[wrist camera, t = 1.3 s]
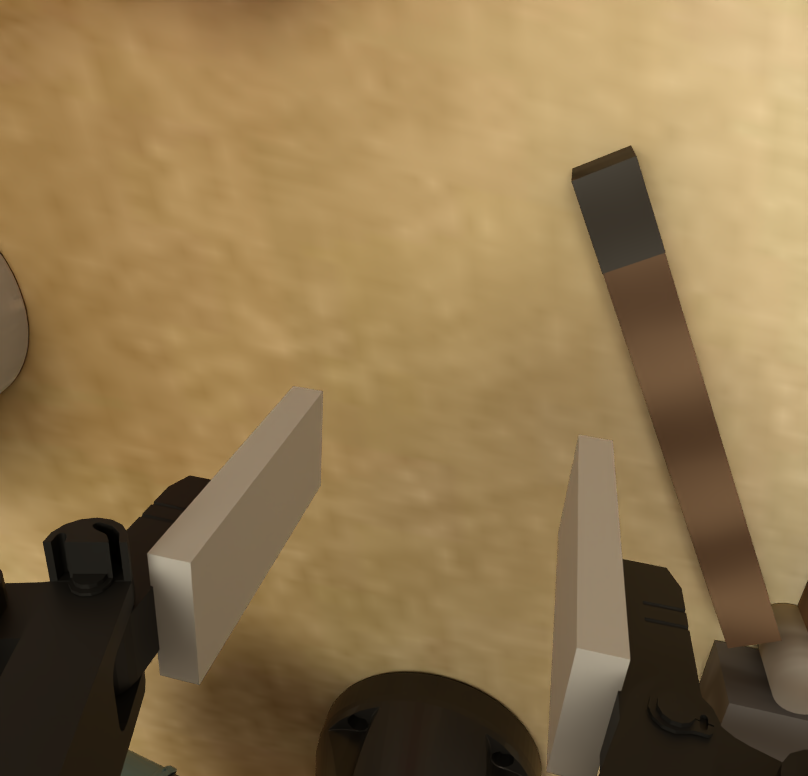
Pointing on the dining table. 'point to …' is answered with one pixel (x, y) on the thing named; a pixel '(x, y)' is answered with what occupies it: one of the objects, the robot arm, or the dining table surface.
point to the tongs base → (764, 686)
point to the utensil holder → (11, 327)
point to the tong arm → (674, 390)
